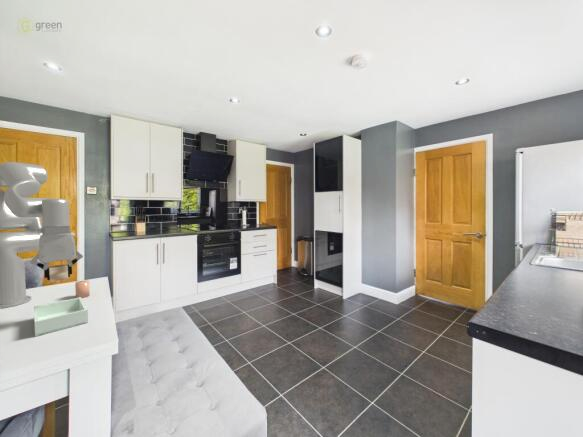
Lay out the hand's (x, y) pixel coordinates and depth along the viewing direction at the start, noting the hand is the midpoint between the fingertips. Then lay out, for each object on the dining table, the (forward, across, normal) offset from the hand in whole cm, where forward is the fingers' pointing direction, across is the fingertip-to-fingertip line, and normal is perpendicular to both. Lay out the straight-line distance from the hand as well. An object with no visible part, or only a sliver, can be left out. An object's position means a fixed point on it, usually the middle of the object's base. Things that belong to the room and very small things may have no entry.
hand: (58, 277), depth 94 cm
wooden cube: (+1, 0, 0) cm, 1 cm away
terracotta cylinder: (+16, +9, +22) cm, 29 cm away
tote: (+16, 0, -4) cm, 16 cm away
